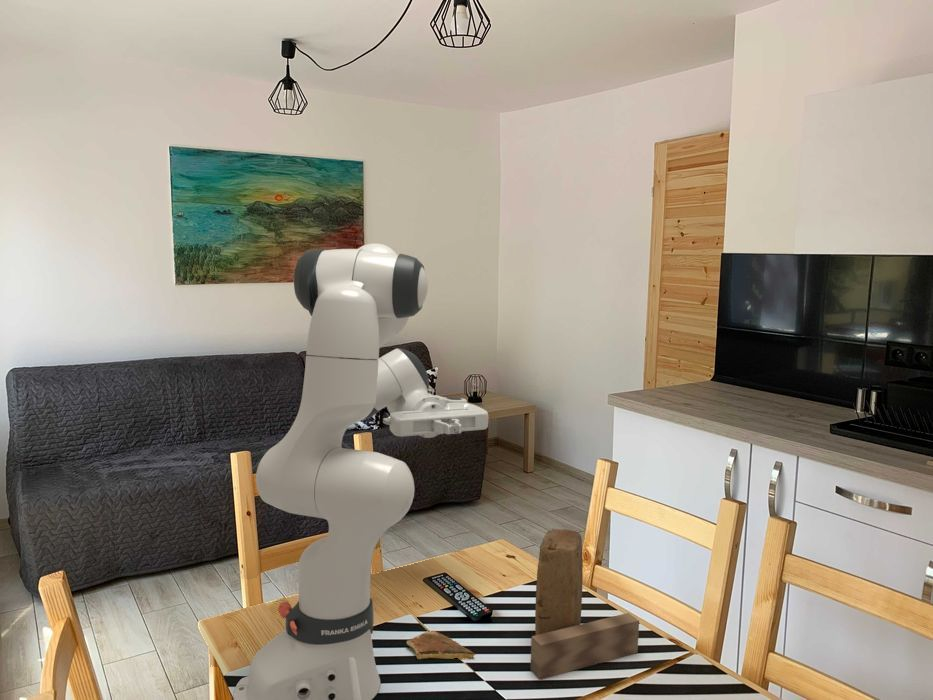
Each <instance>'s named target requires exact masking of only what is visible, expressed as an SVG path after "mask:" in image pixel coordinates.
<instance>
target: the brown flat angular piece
mask: <svg viewBox="0 0 933 700" xmlns="http://www.w3.org/2000/svg"><path fill="white" fill-rule="evenodd" d="M406 645H407V646H409V648H412V650H413V651H414V652H415V655H416V658H417V660H423V659H442V660H445V659H446V660H455V659H454V658H458V659H457V660H466V659H465V658H470V659H473V658H474V656H476V653H475V652H473V651H472V650H470V649H468V648H466V647H464V646H463V645H461V644H460V643H459V642H457V641H456V640H453V639H452V638H450V637H449V636H447V635H444V634H442V633H440V632H438V631H436V630H434V631H433V630H432V631H426V632H423V633H421V634H419V635H417V636H415V637H413V638H410V639H408V640H406ZM463 658H464V659H463Z"/></svg>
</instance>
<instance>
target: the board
mask: <svg viewBox="0 0 933 700" xmlns="http://www.w3.org/2000/svg"><path fill="white" fill-rule="evenodd" d="M639 630H640V620H639V619H637V617H634V615H633V614H630V613H629V612H626V613H621V614H618V615H613V616H610V617H606V618H601V619H597V620H593V621H589V622H585V623H584V622H583V623H582V624H581V623H580V625H576V626H572V627H568V628H564V629H560V630H556V631H551V632H547V633H543V634H539V635H535V634H534V635H532V636H531V640H530V643H531V644H530V671H531V673H533V674H534V675H535V677H537V678H538V679H539V680H540V679H541V680H544V679H547V678H551V677H554V675H555V676H559V675H563V674H566V673H569V671H570V672H573V671H576V670H581V669H584V668H587V667H591V666H594V665H598V663H599V664H602V663H605V662H610V661H613V660H616V659H621V658H624V657H628V656H631V654H632V655H634V654H637V653H638V650H639V633H640V631H639ZM627 655H628V656H627ZM558 674H559V675H558ZM543 678H544V679H543Z"/></svg>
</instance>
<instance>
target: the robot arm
mask: <svg viewBox="0 0 933 700" xmlns="http://www.w3.org/2000/svg"><path fill="white" fill-rule="evenodd" d="M425 270H426V269H425V267H424V265H423V263H422V262H421V261H420V260H419V259H418V258H417V257H414V256H411V255H409V254H404V253H399V254H397V253H396V251H394V249H392V248H391V247H389V246H388V245H385V244H383V243H377V242H376V243H367V244H364V245H362V246H360V247H357V248H336V249H326V248H325V247H324V248H322V247H321V248H315V249H310V250H305V252H303V254H302V255H301V256H299V258H298V259H297V262H296V265H295V267H294V273H293V288H294V289H293V290H294V295H295V297H296V299H297V300H298V302H299V304H300V305H301V306H302V308H303V309H305V310H307V311H308V313H309V314H310V316H311V319H310V323H309V328H308V334H307V335H308V336H307V341H306V342H307V343H306V352H305V353H306V355H305V365H304V367H305V368H304V377H303V385H302V387H303V388H302V392H301V393H302V394H301V401H300V405H299V409H298V413H297V415H296V417H295V420H294V421H293V423H292V424H291V425H292V426H291V427H290V429H289V430H288V432H287V433H286V434H285V436H283V438H282V439H281V440H280V441H279V442H278V443H277V444H275V445H273V446H272V447H270V448H269V449H268V450H267V451H266V452H265V454H264V455H263V456H262V458H261V459H260V461H259V463H258V466H257V469H256V472H255V473H256V475H255V485H256V489H257V493H258V495H259V497H260V499H261V500H262V501H263V502H264V503H266V504H268V505H270V506H272V507H274V508H277V509H279V510H281V511H283V512H286V513H289V514H294V515H300V516H304V517H312V518H318V519H323V520H326V521H327V524H328V533H327V536H324V537H321V538H319V539H317V540H315V541H312V543H310V544H309V545H308V546H307V547H306V548H305V549H304V551H302V554H301V556H300V557H299V561H298V565H297V566H298V567H297V569H298V574H297V575H298V576H297V577H298V580H297V581H298V601H297V603H296V604H295V605H294V606H293V607H292V605H291V603H290V602H288V601H282V602H281V603H280V604H279V605H278V608H277V610H278V613H279V615H280V617H281V618H282V619H285V628H284V629H283V630H282V631H281V632H279V633H278V634H277V635H275V636H274V637H273V638H272V639H271V640H269V641H268V642H267V643H265V644H264V645H263V646H262V647H261V648H259V649H258V650H257V651H256V652H255V654H254V656H253V658H252V661H251V665H250V667H249V674H248V675H247V676H245V677H242V678H241V679H240V680H239V681H238V682H237V684H236V686H235V688H234V692H233V700H373V699H374V698H375V697H376V696H377V694H378V692H379V691H380V688H381V678H380V675H379V672H378V669H377V665H376V660H375V656H374V655H375V654H374V653H375V652H374V647H373V639H372V634H373V632H374V624H375V621H374V620H375V615H374V614H375V611H374V609H375V608H374V604H373V603H374V601H373V599H372V598H371V577H372V576H371V575H372V573H371V572H372V564H373V563H372V561H373V556H374V552H375V549H376V546H377V544H378V542H379V541H380V539H381V537H382V536H383V534H385V532H386V531H388V530H389V529H390V528H391V527H392V526H393V525H396V524H397V523H398V522H399V521H401V520H402V519H403V518H404V517H405V516H406V514H407V513H408V512H409V510H410V508H411V506H412V504H413V500H414V498H415V482H414V481H415V480H414V477H413V474H412V472H411V470H410V468H409V466H408V465H407V463H406V462H404V461H403V460H400V459H399V458H398V459H397V458H394V457H393V456H390V455H387V454H383V453H381V452H377V451H368V450H361V449H354V448H353V449H352V448H347V447H346V448H344V447H342V444H343V439H344V438H343V437H344V436H345V433H346V431H347V429H348V428H349V427H350V426H353V425H355V424H357V423H358V422H361V421H363V420H369V419H371V418H372V417H373V416H375V415H377V413H379V412H380V411H382V409H384V408H386V409H387V411H388V413H389V416H387V417H384V418H383V419H382V423H383V424H384V425H389V431H390V432H391V433H392V434H393V435H394V436H396V437H400V438H401V437H410V436H420V437H422V438H425V439H426V438H427V439H430V438H436V436H439V435H443V434H446V435H453V434H461V433H462V432H469V431H471V432H472V431H482V430H486V429H488V427H489V413H488V410H486V409H484V408H482V407H481V406H479V405H476V404H472V403H469V402H468V400H467V399H465V398H460V397H446V396H445V397H444V396H440V395H438V394H435V395H434V394H432V393H429V392H428V391H429V389H430V378H429V375H428V372H427V370H426V367H425V366H424V364H423V362H422V361H421V359H419V358H418V357H417V355H416V354H414V353H413V352H411V351H409V350H407V349H404V348H400V347H396V348H395V349H393V350H391V351H389V352H387V353H385V354H384V355H382V356H381V357H380V348H381V347H382V346H383V345H385V344H386V343H387V342H389V341H390V340H391V339H392V338H394V337H395V336H396V335H397V334H399V333H400V332H401V331H402V330H403V329H404V327H405V326H406V325H407V323H408V320H409V318H411V317H413V316H415V315H417V314H418V313H419V312H420V311H421V310H422V309H423V304H424V303H425V300H426V298H427V295H428V286H429V285H428V283H429V282H428V276H427V274H426V271H425Z"/></svg>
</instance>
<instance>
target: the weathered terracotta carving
mask: <svg viewBox="0 0 933 700" xmlns="http://www.w3.org/2000/svg"><path fill="white" fill-rule="evenodd" d="M583 561H584V560H583V540H582V535H581V534H580V533H579V532H578V531H575V530H572V529H565V528H564V529H557V528H556V529H555V528H553V529H550V530H547V532H546V533H545V535H544V536H543V538H542V542H541V544H540V547H539V556H538V563H537V572H536V585H535V589H536V590H535V613H534V615H535V619H534V620H535V621H534V622H535V623H534V624H535V628H534V630H535V634H534V636H535V635H539V634H543V633H547V632H551V631H556V630H560V629H564V628H568V627H572V626H576V625H580V624H581V621H582V605H583V604H582V603H583V601H582V600H583V579H584V578H583V571H584V569H583V568H584V563H583Z"/></svg>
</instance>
